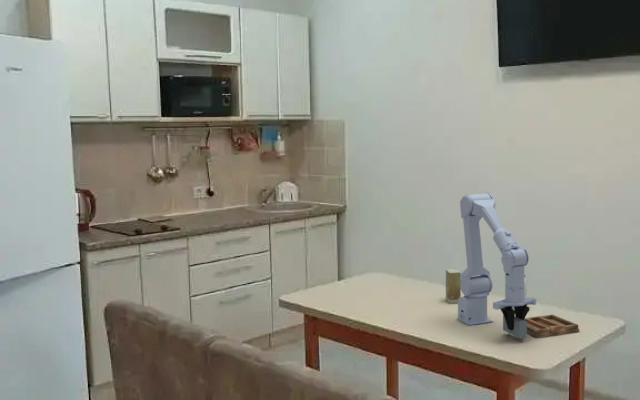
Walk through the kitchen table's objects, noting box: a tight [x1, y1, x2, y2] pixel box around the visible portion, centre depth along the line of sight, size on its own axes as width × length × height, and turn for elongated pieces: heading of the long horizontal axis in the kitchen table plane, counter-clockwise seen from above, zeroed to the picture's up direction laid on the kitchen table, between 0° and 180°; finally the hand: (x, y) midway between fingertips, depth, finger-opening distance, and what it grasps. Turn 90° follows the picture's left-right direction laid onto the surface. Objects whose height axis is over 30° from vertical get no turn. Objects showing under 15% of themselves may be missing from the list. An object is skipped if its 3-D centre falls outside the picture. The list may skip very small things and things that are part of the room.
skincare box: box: [445, 268, 462, 305], centre depth 251 cm, size 6×4×12 cm
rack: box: [524, 314, 580, 339], centre depth 215 cm, size 16×14×3 cm
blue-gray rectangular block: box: [502, 314, 528, 339], centre depth 206 cm, size 2×9×5 cm, turn 18°
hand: (514, 328), depth 207 cm, fingers closed on blue-gray rectangular block, 2 cm apart
